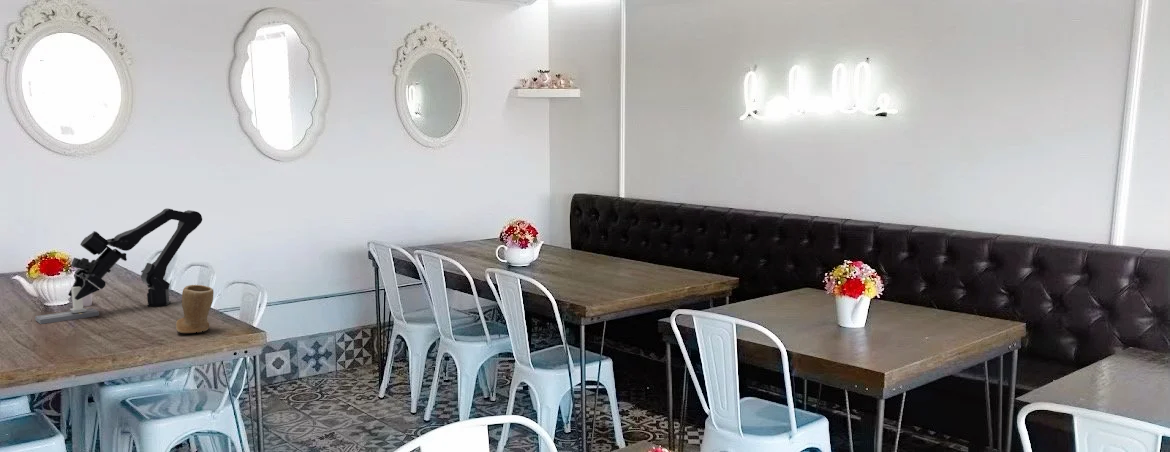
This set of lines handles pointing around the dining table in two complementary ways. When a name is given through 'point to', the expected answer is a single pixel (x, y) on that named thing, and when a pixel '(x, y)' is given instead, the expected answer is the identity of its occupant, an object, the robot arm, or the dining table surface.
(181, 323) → the tan boot
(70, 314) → the fader board
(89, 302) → the smoothie
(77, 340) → the dining table surface
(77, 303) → the fader
